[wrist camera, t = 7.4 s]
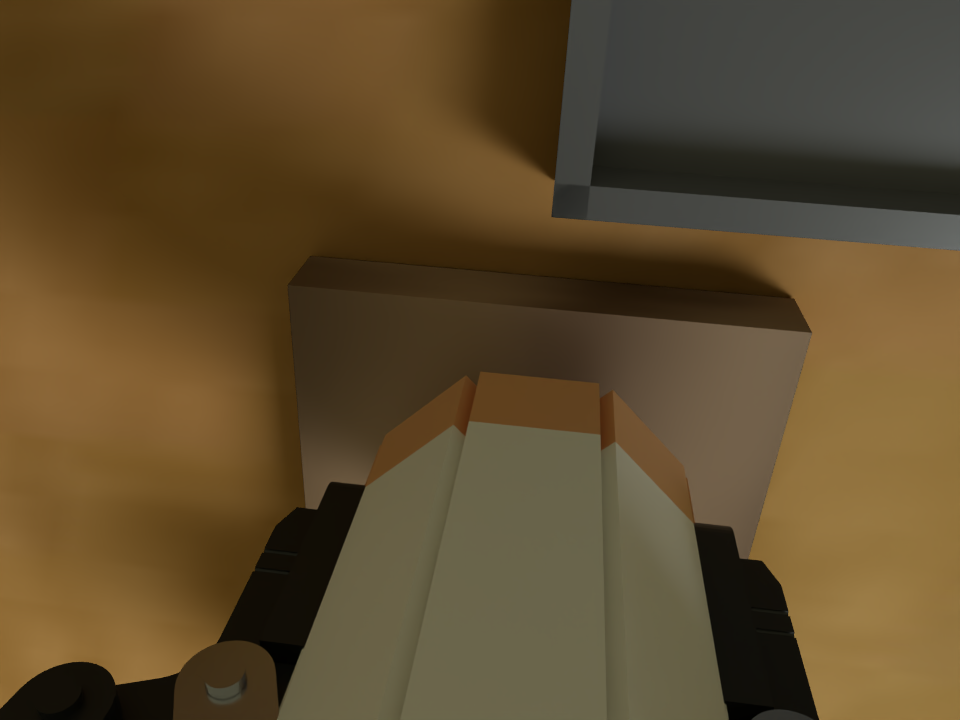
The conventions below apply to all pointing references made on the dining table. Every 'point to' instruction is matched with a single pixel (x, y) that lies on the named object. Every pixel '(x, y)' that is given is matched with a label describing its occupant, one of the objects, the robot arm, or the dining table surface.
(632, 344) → the pin board
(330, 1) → the dining table surface
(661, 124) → the feeder tray
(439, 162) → the dining table surface
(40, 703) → the robot arm
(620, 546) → the sleeve
